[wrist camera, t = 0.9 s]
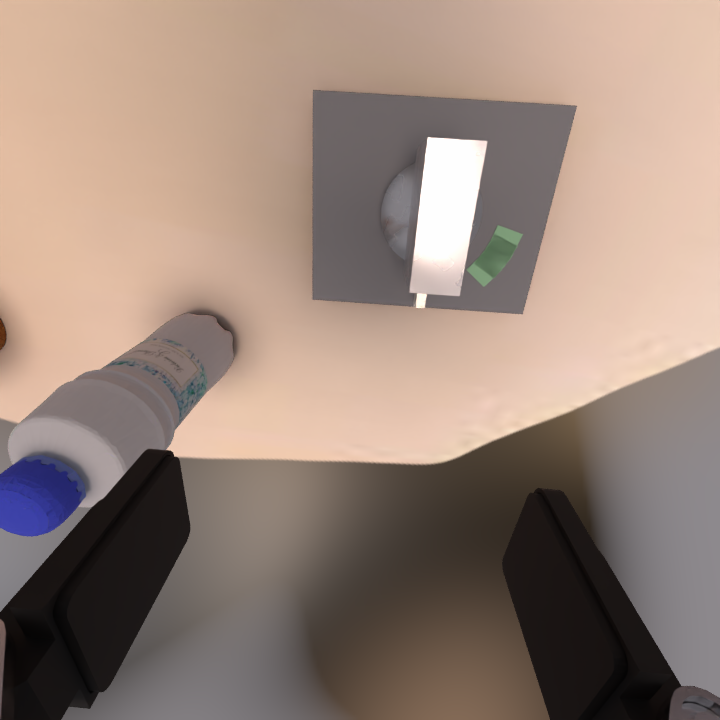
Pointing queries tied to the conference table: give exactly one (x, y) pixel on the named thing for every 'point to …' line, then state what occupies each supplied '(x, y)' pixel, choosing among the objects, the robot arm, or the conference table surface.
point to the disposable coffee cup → (2, 335)
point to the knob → (435, 214)
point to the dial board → (398, 151)
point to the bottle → (108, 423)
